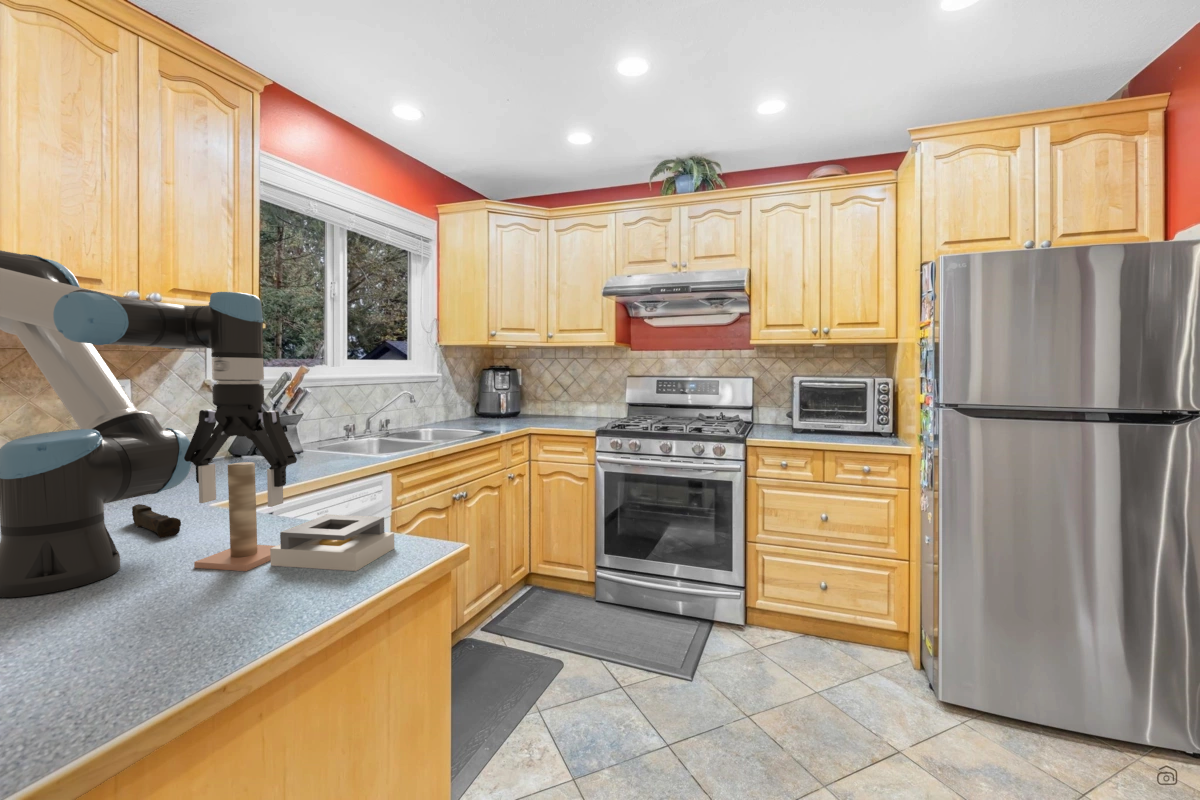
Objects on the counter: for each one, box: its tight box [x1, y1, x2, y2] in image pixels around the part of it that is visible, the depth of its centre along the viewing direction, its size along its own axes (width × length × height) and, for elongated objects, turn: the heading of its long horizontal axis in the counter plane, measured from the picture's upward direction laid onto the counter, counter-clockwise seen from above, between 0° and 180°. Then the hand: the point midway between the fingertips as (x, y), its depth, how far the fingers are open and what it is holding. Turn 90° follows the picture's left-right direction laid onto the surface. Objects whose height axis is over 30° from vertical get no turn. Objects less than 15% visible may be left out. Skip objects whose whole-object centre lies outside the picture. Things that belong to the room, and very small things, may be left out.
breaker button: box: [320, 538, 350, 546], centre depth 98 cm, size 5×5×3 cm
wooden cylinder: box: [227, 461, 258, 558], centre depth 96 cm, size 4×4×16 cm
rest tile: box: [193, 544, 276, 572], centre depth 96 cm, size 10×10×1 cm
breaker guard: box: [270, 513, 395, 572], centre depth 98 cm, size 16×12×6 cm
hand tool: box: [131, 503, 182, 539], centre depth 115 cm, size 19×4×5 cm, turn 55°
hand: (241, 503), depth 96 cm, fingers open, 13 cm apart
